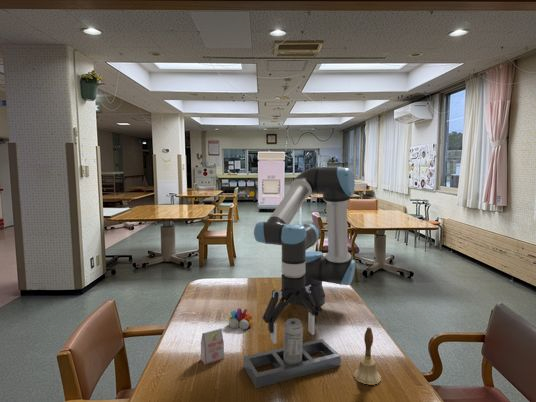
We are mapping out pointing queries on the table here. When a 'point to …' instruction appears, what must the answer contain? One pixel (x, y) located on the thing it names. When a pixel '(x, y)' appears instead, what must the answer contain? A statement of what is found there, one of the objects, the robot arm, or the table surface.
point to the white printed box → (212, 346)
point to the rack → (291, 370)
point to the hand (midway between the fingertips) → (292, 337)
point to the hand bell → (367, 363)
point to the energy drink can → (293, 341)
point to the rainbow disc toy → (240, 319)
